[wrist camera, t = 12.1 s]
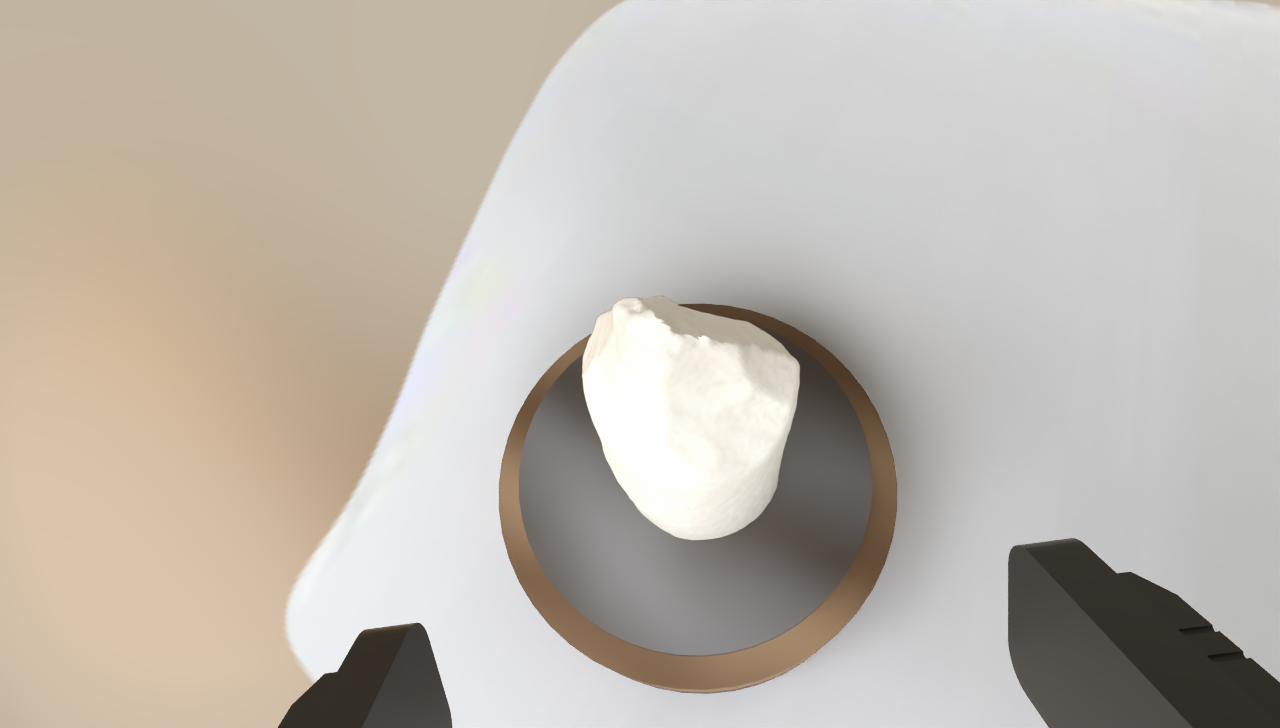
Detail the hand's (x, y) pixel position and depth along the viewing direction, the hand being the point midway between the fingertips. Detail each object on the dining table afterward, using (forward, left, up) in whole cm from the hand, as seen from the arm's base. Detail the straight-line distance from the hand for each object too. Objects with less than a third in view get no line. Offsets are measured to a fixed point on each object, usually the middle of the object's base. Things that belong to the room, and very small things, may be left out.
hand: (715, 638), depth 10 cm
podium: (-6, -4, -19) cm, 21 cm away
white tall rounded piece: (-6, -4, -15) cm, 17 cm away
